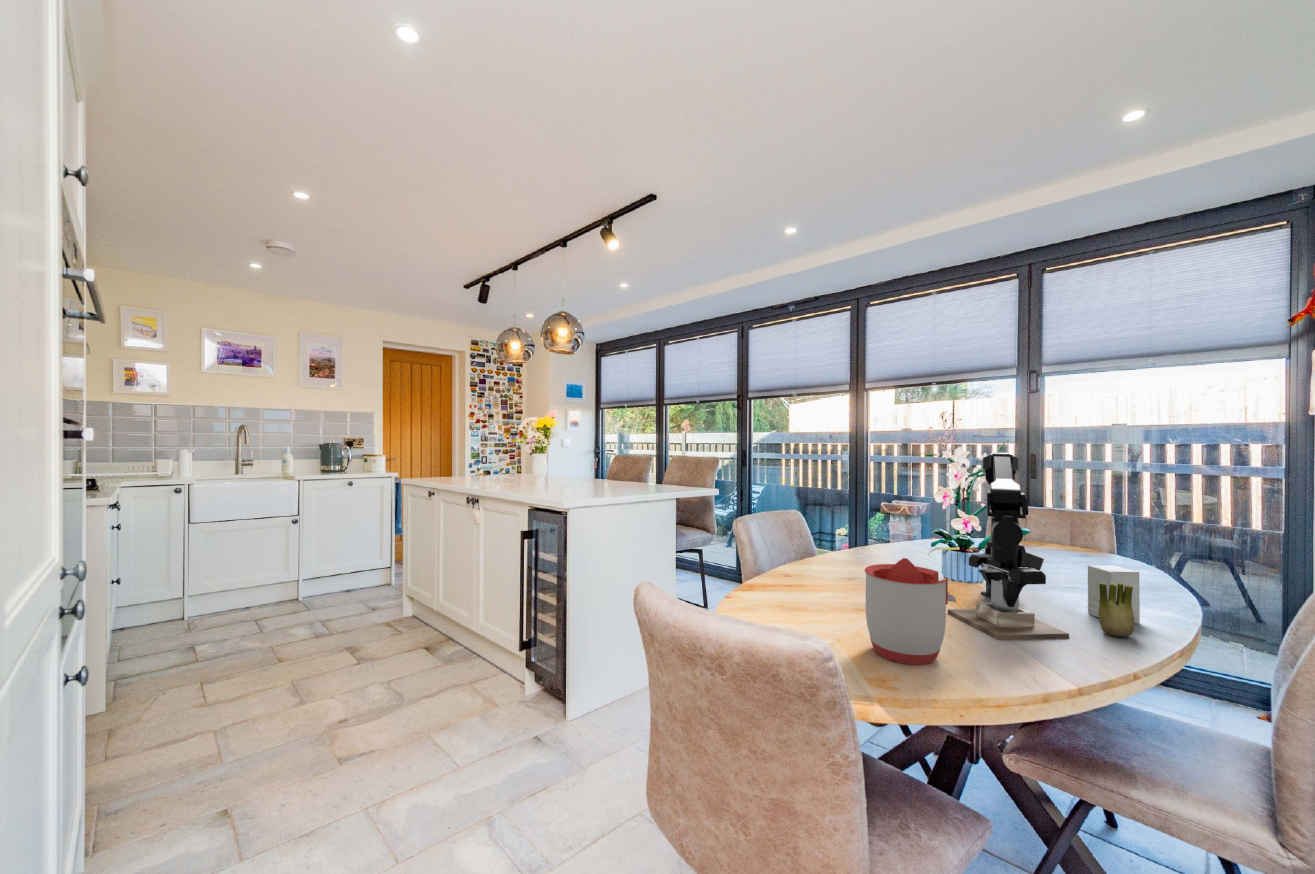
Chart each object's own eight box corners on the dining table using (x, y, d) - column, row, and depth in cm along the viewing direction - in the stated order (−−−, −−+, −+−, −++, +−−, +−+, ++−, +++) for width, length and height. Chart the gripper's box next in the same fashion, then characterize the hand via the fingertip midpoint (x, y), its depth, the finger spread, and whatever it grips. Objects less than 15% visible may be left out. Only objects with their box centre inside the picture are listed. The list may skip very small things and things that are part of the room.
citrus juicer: (969, 675, 101) (969, 569, 101) (871, 666, 104) (872, 564, 104) (942, 644, 116) (942, 552, 116) (858, 637, 120) (858, 548, 120)
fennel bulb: (1096, 633, 123) (1097, 581, 123) (1105, 629, 126) (1105, 578, 126) (1128, 641, 118) (1129, 587, 118) (1136, 637, 121) (1137, 584, 121)
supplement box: (1141, 623, 130) (1141, 572, 130) (1110, 623, 130) (1110, 571, 130) (1115, 613, 137) (1115, 564, 137) (1086, 613, 138) (1086, 564, 138)
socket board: (947, 613, 137) (947, 597, 137) (1010, 611, 138) (1010, 596, 138) (997, 639, 119) (997, 621, 119) (1069, 637, 120) (1069, 620, 120)
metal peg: (991, 611, 130) (991, 579, 130) (1006, 611, 131) (1006, 579, 131) (1002, 617, 126) (1002, 583, 126) (1018, 617, 127) (1018, 583, 127)
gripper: (1068, 547, 120) (1068, 616, 120) (1008, 532, 138) (1008, 592, 138) (1022, 547, 119) (1021, 617, 119) (967, 532, 138) (967, 592, 138)
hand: (1004, 604), depth 129 cm, fingers closed on metal peg, 4 cm apart
